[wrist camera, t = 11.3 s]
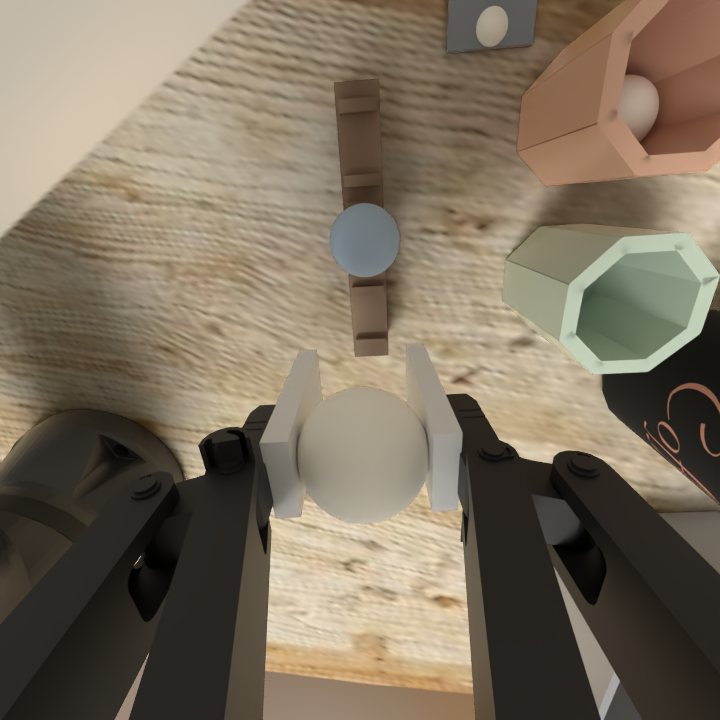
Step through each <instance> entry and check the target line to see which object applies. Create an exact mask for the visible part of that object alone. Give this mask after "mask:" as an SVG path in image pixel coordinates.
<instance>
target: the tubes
mask: <svg viewBox="0 0 720 720" xmlns="http://www.w3.org/2000/svg"><path fill="white" fill-rule="evenodd" d="M537 1H538V0H448V10H447V48H446V53H457V52H469V51H480V50H491V49H502V48H513V47H524V46H531V45H532V44H533V39H534V30H535V20H536V10H537ZM625 75H639V76H642V77H644V78H646V79H648V80H649V81H650V82H652V83H653V85H654V86H655V88H656V90H657V92H658V96H659V110H658V114H657V117H656V120H655V122H654V124H653V126H652V128H651V130H650V131H649V132H648V134H647V135H646V136H645V137H644V138H643V140H642V141H641V142H640V143H639V142H638V140H637V139H636V138H635V136H634V135H633V133H632V132H631V131H630V129H629V128H628V126H627V125H626V124H625V122H624V121H623V119H622V118H621V117H620V115H619V114H618V109H619V103H620V98H621V93H622V88H623V83H624V77H625ZM517 151H518V152H517ZM517 151H516V152H517V153H518V155H519V156H520V157H521V158H522V159H523V161H524V162H525V163H526V164H527V165H528V166H529V168H530V169H531V170H532V171H533V172H534V174H535V175H536V176H537V177H538V178H539V179H540V181H541V182H542V183H543V184H544V185H545V186H552V185H566V184H580V183H593V182H603V181H613V180H623V179H633V178H644V177H654V176H664V175H674V174H684V173H694V172H704V171H708V170H709V169H710V168H711V167H712V166H713V165H714V164H716V163H717V162H718V161H719V160H720V0H624V1H623V2H622V3H621V4H619V5H618V6H617V7H616V8H614V9H613V10H612V11H611V12H609V13H608V14H607V15H606V16H604V17H603V18H602V19H601V20H599V21H598V22H597V23H596V24H594V25H593V26H592V27H591V28H589V29H588V30H587V31H586V32H584V33H583V34H582V35H581V36H579V37H578V38H577V39H575V40H574V41H573V42H572V43H570V44H569V45H568V46H567V47H565V48H564V49H563V50H562V51H561V52H560V53H559V54H558V56H557V57H556V58H555V59H554V60H553V61H552V62H551V64H550V65H549V66H548V67H547V68H546V69H545V70H544V72H543V73H542V74H541V75H540V76H539V77H538V78H537V80H536V81H535V82H534V83H533V84H532V85H531V86H530V87H529V89H528V90H527V91H526V92H525V93H524V94H523V95H522V101H521V111H520V121H519V131H518V141H517ZM719 278H720V274H719V273H718V272H717V270H716V269H715V268H714V266H713V265H712V263H711V262H710V261H709V259H708V258H707V257H706V255H705V254H704V253H703V251H702V250H701V248H700V247H699V246H698V244H697V243H696V242H695V240H694V239H693V238H692V236H691V235H690V234H689V233H686V232H675V231H663V230H652V229H641V228H629V227H618V226H606V225H595V224H568V225H553V226H540V227H539V228H537V229H536V230H535V231H534V232H533V233H532V234H531V235H530V236H529V237H528V238H527V239H526V240H525V241H524V242H523V243H522V244H521V245H520V246H519V247H518V248H517V249H516V250H515V251H514V252H513V253H512V254H511V255H510V256H509V257H508V258H507V260H506V263H505V273H504V283H503V293H502V301H503V302H504V303H505V304H506V305H507V306H508V307H509V308H510V309H511V310H512V311H513V312H514V313H515V314H516V315H517V316H518V317H519V318H520V319H521V320H522V321H523V322H524V323H525V324H526V325H528V326H529V327H530V328H532V329H533V330H534V331H535V332H537V333H538V334H539V335H541V336H542V337H543V338H545V339H546V340H547V341H549V342H550V343H551V344H553V345H554V346H555V347H557V348H558V349H559V350H561V351H562V352H563V353H565V354H566V355H567V356H568V357H570V358H571V359H572V360H574V361H575V362H576V363H578V364H579V365H580V366H582V367H583V368H584V369H586V370H587V371H588V372H590V373H591V374H614V373H635V372H648V371H650V370H651V369H653V368H654V367H655V366H657V365H658V364H660V363H661V362H662V361H664V360H665V359H666V358H668V357H669V356H670V355H672V354H673V353H675V352H676V351H677V350H679V349H680V348H681V347H683V346H684V345H685V344H687V343H688V342H690V341H691V340H692V339H694V338H695V337H696V336H698V335H699V334H700V333H701V331H702V328H703V325H704V322H705V319H706V316H707V313H708V311H709V308H710V305H711V302H712V299H713V296H714V293H715V290H716V287H717V284H718V281H719Z"/></svg>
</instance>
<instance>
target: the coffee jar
mask: <svg viewBox="0 0 720 720" xmlns="http://www.w3.org/2000/svg"><path fill="white" fill-rule="evenodd" d="M602 391H603V394H604V397H605V400H606V402H607V405H608V408H609V409H610V410H611V411H612V412H613V414H614V415H615V416H616V417H617V418H618V419H619V420H621V421H622V422H623V423H624V424H625V425H626V426H628V427H629V428H630V429H631V430H632V431H633V432H635V433H636V434H637V435H638V436H639V437H640V438H642V439H643V440H644V441H645V442H646V443H647V444H649V445H650V446H651V447H652V448H653V449H654V450H656V451H657V452H658V453H659V454H660V455H661V456H663V457H664V458H665V459H666V460H667V461H668V462H670V463H671V464H672V465H673V466H674V467H675V468H677V469H678V470H679V471H680V472H681V473H682V474H684V475H685V476H686V477H687V478H688V479H690V480H691V481H692V482H693V483H694V484H695V485H697V486H698V487H699V488H700V489H701V490H702V491H704V492H705V493H706V494H707V495H708V496H709V497H711V498H712V499H713V500H714V501H715V502H716V503H718V504H719V505H720V311H716V310H709V311H708V313H707V316H706V319H705V322H704V325H703V328H702V331H701V333H700V334H699V335H698V336H696V337H695V338H694V339H692V340H691V341H690V342H688V343H687V344H685V345H684V346H683V347H681V348H680V349H679V350H677V351H676V352H675V353H673V354H672V355H670V356H669V357H668V358H666V359H665V360H664V361H662V362H661V363H660V364H658V365H657V366H655V367H654V368H653V369H651V370H650V371H648V372H635V373H614V374H603V388H602Z"/></svg>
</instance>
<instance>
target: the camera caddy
mask: <svg viewBox="0 0 720 720" xmlns="http://www.w3.org/2000/svg"><path fill="white" fill-rule="evenodd" d="M658 514H659V515H660V516H661V517H662V518H663V519H664V520H665V521H666V522H667V523H668V524H669V525H671V526H672V527H673V528H674V529H675V530H676V531H677V532H678V533H679V534H680V535H681V536H682V537H683V538H684V539H685V540H686V541H687V542H688V543H689V544H690V545H691V546H692V547H693V548H694V549H695V550H696V551H697V552H698V553H699V554H700V555H701V556H702V557H703V558H704V559H705V560H706V561H707V562H708V563H709V564H710V565H711V566H712V567H713V568H714V569H715V570H716V571H717V572H718V573H719V574H720V513H719V512H718V511H707V512H673V513H658ZM555 573H556V576H557V579H558V583H559V586H560V589H561V592H562V596H563V599H564V602H565V605H566V608H567V612H568V615H569V618H570V621H571V625H572V628H573V631H574V634H575V637H576V641H577V644H578V647H579V650H580V653H581V657H582V660H583V663H584V666H585V670H586V673H587V676H588V679H589V682H590V686H591V689H592V692H593V695H594V699H595V702H596V705H597V708H598V711H599V715H600V718H601V720H642V718H641V717H640V715H639V713H638V711H637V710H636V708H635V706H634V704H633V703H632V701H631V699H630V697H629V696H628V694H627V692H626V691H625V689H624V687H623V685H622V684H621V682H620V680H619V678H618V677H617V675H616V673H615V672H614V670H613V668H612V666H611V665H610V663H609V661H608V659H607V658H606V656H605V654H604V652H603V651H602V649H601V647H600V646H599V644H598V642H597V640H596V639H595V637H594V635H593V633H592V632H591V630H590V628H589V626H588V625H587V623H586V621H585V620H584V618H583V616H582V614H581V613H580V611H579V609H578V607H577V606H576V604H575V602H574V601H573V599H572V597H571V595H570V594H569V592H568V590H567V588H566V587H565V585H564V583H563V581H562V580H561V578H560V576H559V575H558V573H557V571H556V569H555Z"/></svg>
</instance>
